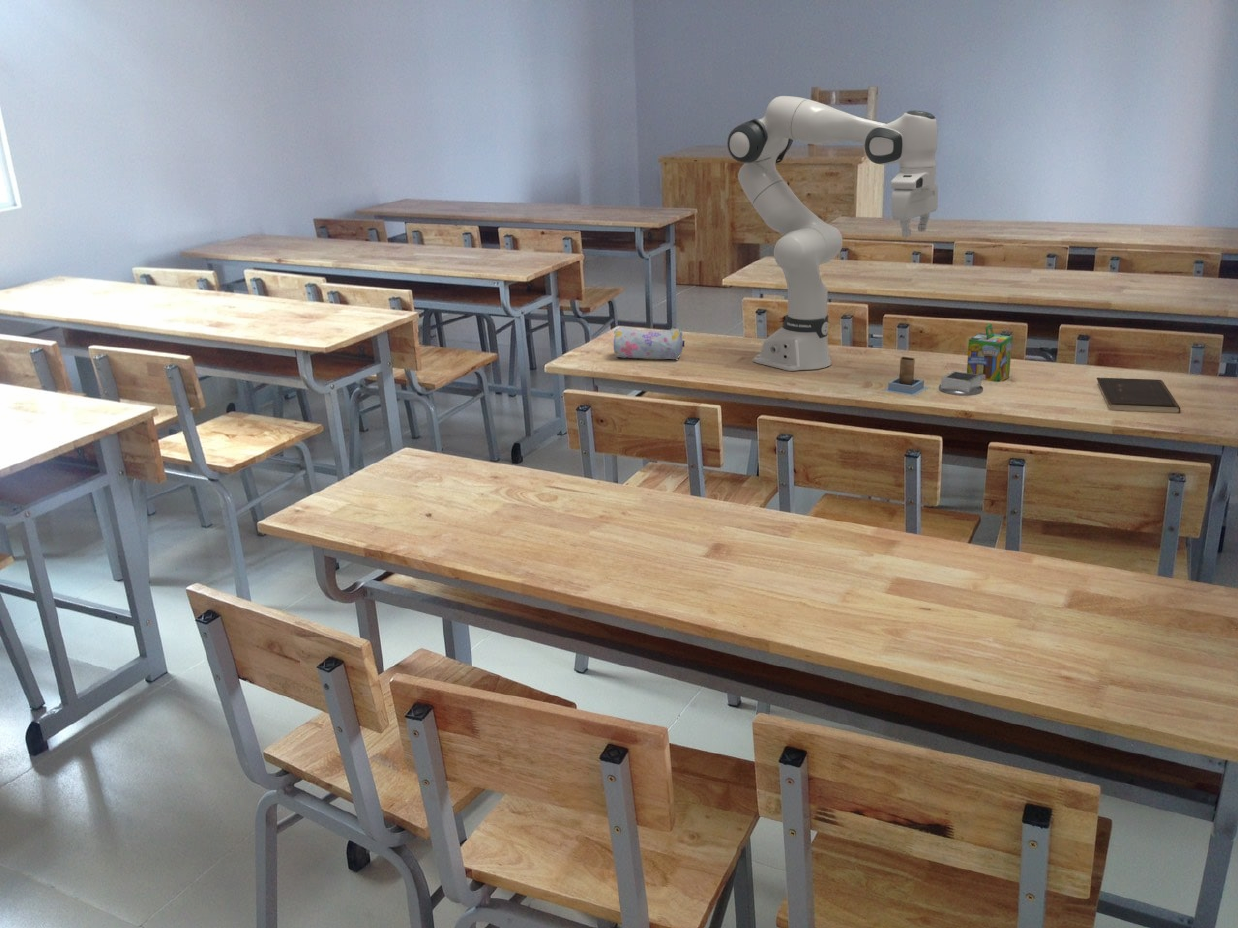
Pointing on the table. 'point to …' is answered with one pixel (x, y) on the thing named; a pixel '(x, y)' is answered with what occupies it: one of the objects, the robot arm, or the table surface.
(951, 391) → the hub
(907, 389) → the stand
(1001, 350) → the chalk box
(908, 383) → the peg
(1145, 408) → the hardcover book
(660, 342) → the pencil case
